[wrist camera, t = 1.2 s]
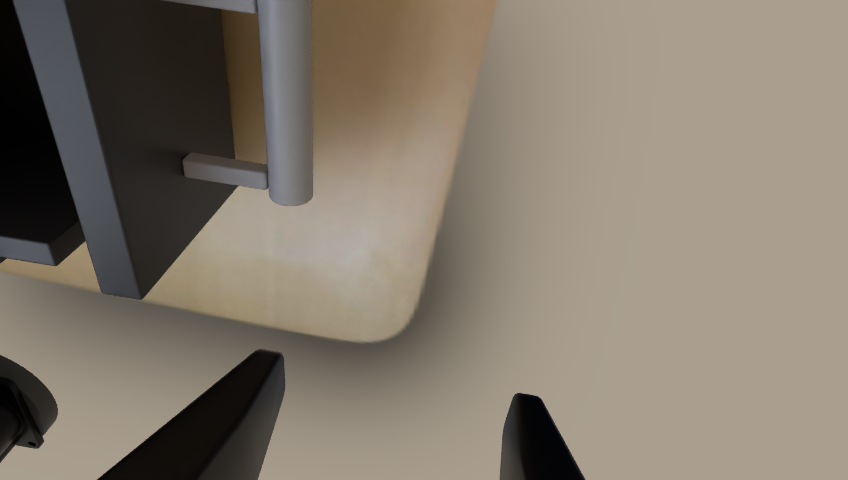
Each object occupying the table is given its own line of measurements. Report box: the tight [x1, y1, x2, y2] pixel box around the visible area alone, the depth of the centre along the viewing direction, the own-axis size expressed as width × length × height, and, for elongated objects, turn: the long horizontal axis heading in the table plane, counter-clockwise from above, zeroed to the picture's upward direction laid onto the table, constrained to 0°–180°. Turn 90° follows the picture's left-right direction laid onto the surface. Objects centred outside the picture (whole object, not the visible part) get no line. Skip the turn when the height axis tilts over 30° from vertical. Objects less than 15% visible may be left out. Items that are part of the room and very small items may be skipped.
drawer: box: [0, 0, 313, 300], centre depth 15 cm, size 16×10×7 cm, turn 83°
